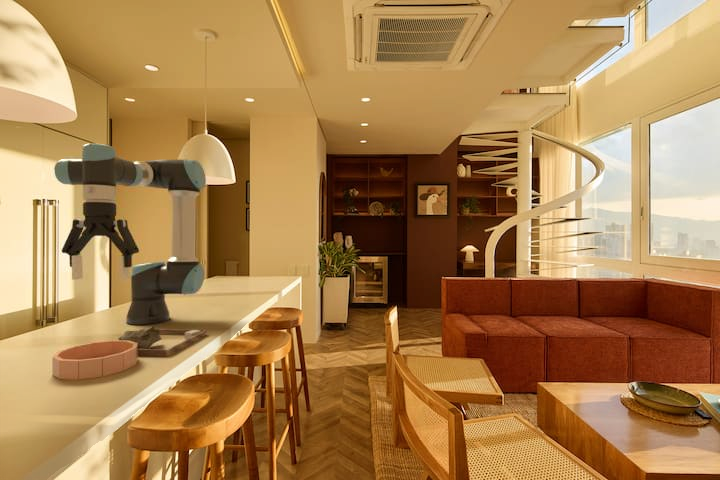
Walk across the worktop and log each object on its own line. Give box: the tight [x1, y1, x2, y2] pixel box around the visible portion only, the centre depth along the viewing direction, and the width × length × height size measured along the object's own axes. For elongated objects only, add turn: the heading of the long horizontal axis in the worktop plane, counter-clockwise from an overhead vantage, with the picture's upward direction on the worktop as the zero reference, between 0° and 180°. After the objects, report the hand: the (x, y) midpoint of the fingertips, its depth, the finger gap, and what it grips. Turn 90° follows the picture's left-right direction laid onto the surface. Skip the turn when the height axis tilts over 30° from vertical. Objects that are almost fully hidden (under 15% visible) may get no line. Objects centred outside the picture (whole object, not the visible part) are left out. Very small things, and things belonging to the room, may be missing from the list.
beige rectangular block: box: [184, 329, 201, 340], centre depth 126 cm, size 4×3×2 cm
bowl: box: [51, 339, 139, 381], centre depth 98 cm, size 18×18×4 cm
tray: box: [138, 328, 208, 358], centre depth 119 cm, size 23×21×2 cm
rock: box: [117, 326, 163, 349], centre depth 113 cm, size 11×6×10 cm
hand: (101, 279), depth 103 cm, fingers open, 13 cm apart
